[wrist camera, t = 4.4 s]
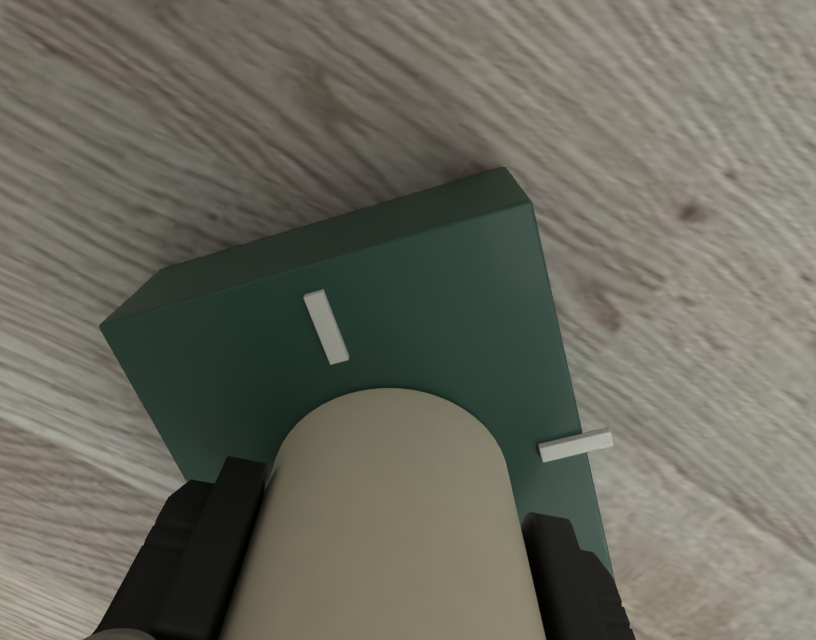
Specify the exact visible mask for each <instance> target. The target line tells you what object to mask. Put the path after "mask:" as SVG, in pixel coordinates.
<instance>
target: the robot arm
mask: <svg viewBox="0 0 816 640" xmlns="http://www.w3.org/2000/svg"><path fill="white" fill-rule="evenodd" d="M267 472H268V463H264V462H259V461H253V460H248V459H242V458H237V457H231V456H228V457H227V458H226V460H225V462H224V464H223V467H222V469H221V471H220V473H219V475H218V478H217V480H216V482H215V483H209V482H203V481H198V480H192V479H191V480H190V481H188V482H187V483H186V484H185V485H183V486H182V487H181V488H180V489H178V490H177V491H176V492H175V493H173V494H172V495H171V496H169V497H168V499H167V501H166V503H165V505H164V506H163V508H162V510H161V512H160V514H159V516H158V517H157V519H156V522H155V525H153V527H152V529H151V530H150V532H149V534H148V536H147V538H146V540H145V543H144V546H143V545H142V547H141V549H140V551H139V553H138V554H137V556H136V558H135V560H134V562H133V564H132V565H131V567H130V569H129V571H128V573H127V575H126V576H125V578H124V580H123V582H122V584H121V586H120V588H119V589H118V591H117V593H116V595H115V597H114V599H113V600H112V602H111V604H110V606H109V608H108V610H107V612H106V613H105V615H104V617H103V619H102V621H101V622H100V624H99V625H98V627H97V629H96V630H95V631H94V632H93V633H92V635H91V636H89V637H87V638H85V639H83V640H217V639H218V636H219V633H220V630H221V627H222V624H223V621H224V617H225V614H226V611H227V608H228V605H229V602H230V599H231V596H232V593H233V590H234V586H235V583H236V580H237V577H238V574H239V571H240V568H241V565H242V562H243V559H244V555H245V552H246V549H247V546H248V543H249V540H250V537H251V534H252V531H253V528H254V524H255V521H256V518H257V515H258V512H259V509H260V506H261V503H262V500H263V496H264V492H265V485H266V479H267ZM521 531H522V536H523V540H524V544H525V549H526V553H527V558H528V562H529V566H530V571H531V575H532V580H533V584H534V588H535V593H536V597H537V602H538V606H539V610H540V615H541V619H542V624H543V628H544V632H545V637H546V640H636V639H635V636H634V633H633V631H632V629H630V628H629V625H630V623H629V620H628V617H627V615H626V612H625V609H624V607H622V606H621V603H622V601H621V598H620V596H619V593H618V590H617V588H616V585H615V582H614V579H613V577H612V575H611V574H610V573H609V571H608V570H607V569H606V567H605V566H604V565H603V564H602V562H601V561H600V560H599V558H598V557H597V556H596V555H595V553H594V552H591V551H585V550H580V547H579V544H578V541H577V538H576V535H575V532H574V529H573V526H572V523H571V522H570V520H569V519H567V518H561V517H556V516H550V515H545V514H539V513H534V512H529V513H527V515H526V516H525V518H524V520H523V522H522V525H521Z"/></svg>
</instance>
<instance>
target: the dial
mask: <svg viewBox="0 0 816 640" xmlns="http://www.w3.org/2000/svg"><path fill="white" fill-rule="evenodd" d="M217 640H546V637H545V632H544V628H543V624H542V619H541V615H540V610H539V606H538V602H537V597H536V593H535V588H534V584H533V580H532V575H531V571H530V566H529V562H528V558H527V553H526V549H525V544H524V540H523V536H522V531H521V527H520V522H519V518H518V514H517V509H516V505H515V500H514V496H513V492H512V487H511V483H510V478H509V474H508V470H507V465H506V461H505V459H504V456H503V453H502V451H501V449H500V447H499V445H498V444H497V442H496V440H495V438H494V437H493V436H492V435H491V433H490V432H489V431H488V430H487V428H486V427H485V426H484V425H483V424H482V423H481V422H479V421H478V420H477V419H476V418H475V417H474V416H473V415H471V414H470V413H468V412H467V411H466V410H464V409H463V408H461V407H459V406H457V405H456V404H454V403H452V402H450V401H448V400H446V399H443V398H440V397H438V396H435V395H432V394H429V393H425V392H421V391H417V390H409V389H402V388H378V389H367V390H362V391H358V392H353V393H349V394H346V395H343V396H340V397H337V398H335V399H333V400H331V401H329V402H327V403H325V404H323V405H321V406H319V407H318V408H316V409H315V410H313V411H312V412H310V413H309V414H308V415H306V416H305V417H304V418H303V419H302V420H301V421H299V422H298V423H297V424H296V426H295V427H294V428H293V429H292V430H291V431H290V432H289V434H288V435H287V437H286V438H285V440H284V442H283V443H282V445H281V447H280V449H279V452H278V454H277V456H276V459H275V462H274V465H273V469H272V472H271V475H270V478H269V481H268V484H267V487H266V490H265V493H264V496H263V500H262V503H261V506H260V509H259V512H258V515H257V518H256V521H255V524H254V528H253V531H252V534H251V537H250V540H249V543H248V546H247V549H246V552H245V555H244V559H243V562H242V565H241V568H240V571H239V574H238V577H237V580H236V583H235V586H234V590H233V593H232V596H231V599H230V602H229V605H228V608H227V611H226V614H225V617H224V621H223V624H222V627H221V630H220V633H219V636H218V639H217Z"/></svg>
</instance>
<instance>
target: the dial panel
mask: <svg viewBox="0 0 816 640" xmlns="http://www.w3.org/2000/svg"><path fill="white" fill-rule="evenodd" d="M99 327H100V330H101V332H102V333H103V335H104V337H105V339H106V340H107V342H108V344H109V346H110V348H111V349H112V351H113V353H114V355H115V356H116V358H117V360H118V362H119V363H120V365H121V367H122V369H123V370H124V372H125V374H126V376H127V377H128V379H129V381H130V383H131V384H132V386H133V388H134V390H135V391H136V393H137V395H138V397H139V398H140V400H141V402H142V404H143V406H144V407H145V409H146V411H147V413H148V414H149V416H150V418H151V420H152V421H153V423H154V425H155V427H156V428H157V430H158V432H159V434H160V435H161V437H162V439H163V441H164V442H165V444H166V446H167V448H168V449H169V451H170V453H171V455H172V457H173V458H174V460H175V462H176V464H177V465H178V467H179V469H180V471H181V472H182V474H183V476H184V478H185V479H186V481H187V482H188V481H190V480H191V479H192V480H198V481H203V482H209V483H215V482H216V480H217V478H218V475H219V473H220V471H221V469H222V467H223V464H224V462H225V460H226V458H227V457H228V456H231V457H237V458H242V459H248V460H253V461H259V462H264V463H268V472H267V479H266V485H265V490H266V487H267V484H268V481H269V478H270V475H271V472H272V469H273V465H274V462H275V459H276V456H277V454H278V452H279V449H280V447H281V445H282V443H283V442H284V440H285V438H286V437H287V435H288V434H289V432H290V431H291V430H292V429H293V428H294V427H295V426H296V424H297V423H298V422H299V421H301V420H302V419H303V418H304V417H305V416H306V415H308V414H309V413H310V412H312V411H313V410H315V409H316V408H318V407H319V406H321V405H323V404H325V403H327V402H329V401H331V400H333V399H335V398H337V397H340V396H343V395H346V394H349V393H353V392H358V391H362V390H367V389H378V388H402V389H409V390H417V391H421V392H425V393H429V394H432V395H435V396H438V397H440V398H443V399H446V400H448V401H450V402H452V403H454V404H456V405H457V406H459V407H461V408H463V409H464V410H466V411H467V412H468V413H470V414H471V415H473V416H474V417H475V418H476V419H477V420H478V421H479V422H481V423H482V424H483V425H484V426H485V427H486V428H487V430H488V431H489V432H490V433H491V435H492V436H493V437H494V438H495V440H496V442H497V444H498V445H499V447H500V449H501V451H502V453H503V456H504V459H505V461H506V465H507V470H508V474H509V478H510V483H511V487H512V492H513V496H514V500H515V505H516V509H517V514H518V518H519V522H520V527H521V525H522V522H523V520H524V518H525V516H526V515H527V513H529V512H534V513H539V514H545V515H550V516H556V517H561V518H567V519H569V520H570V522H571V523H572V526H573V529H574V532H575V535H576V538H577V541H578V544H579V547H580V550H585V551H591V552H594V553H595V555H596V556H597V557H598V558H599V560H600V561H601V562H602V564H603V565H604V566H605V567H606V569H607V570H608V571H609V573H610V574H611V575H612V577H613V579H614V575H613V570H612V565H611V561H610V556H609V552H608V547H607V543H606V538H605V534H604V529H603V524H602V520H601V515H600V511H599V506H598V502H597V497H596V492H595V488H594V483H593V479H592V474H591V470H590V465H589V460H588V456H587V452H590V451H594V450H598V449H603V448H607V447H611V446H613V441H612V436H611V431H610V429H609V428H608V427H607V428H603V429H599V430H595V431H591V432H586V433H582V428H581V424H580V419H579V415H578V410H577V406H576V401H575V397H574V392H573V387H572V383H571V378H570V374H569V369H568V365H567V360H566V355H565V351H564V346H563V342H562V337H561V333H560V328H559V323H558V319H557V314H556V310H555V305H554V301H553V296H552V291H551V287H550V282H549V278H548V273H547V269H546V264H545V259H544V255H543V250H542V246H541V241H540V237H539V232H538V228H537V223H536V218H535V214H534V209H533V205H532V202H531V200H530V199H529V198H528V196H527V195H526V194H525V192H524V191H523V190H522V188H521V187H520V186H519V184H518V183H517V182H516V180H515V179H514V178H513V176H512V175H511V174H510V173H509V171H508V170H507V169H506V167H501V168H497V169H494V170H491V171H487V172H484V173H481V174H477V175H474V176H471V177H467V178H464V179H460V180H457V181H454V182H450V183H447V184H444V185H440V186H437V187H434V188H430V189H427V190H424V191H420V192H417V193H414V194H410V195H407V196H404V197H400V198H397V199H394V200H390V201H387V202H384V203H380V204H377V205H374V206H370V207H367V208H364V209H360V210H357V211H354V212H350V213H347V214H344V215H340V216H337V217H334V218H330V219H327V220H324V221H320V222H317V223H314V224H310V225H307V226H304V227H300V228H297V229H294V230H290V231H287V232H284V233H280V234H277V235H274V236H270V237H267V238H264V239H260V240H257V241H254V242H250V243H247V244H243V245H240V246H237V247H233V248H230V249H227V250H223V251H220V252H217V253H213V254H210V255H207V256H203V257H200V258H197V259H193V260H190V261H187V262H183V263H180V264H177V265H173V266H170V267H167V268H163V269H160V270H159V271H158V272H157V273H156V274H155V275H154V276H153V277H152V278H150V279H149V280H148V281H147V282H146V283H145V284H144V285H143V286H142V287H141V288H140V289H138V290H137V291H136V292H135V293H134V294H133V295H132V296H131V297H130V298H129V299H127V300H126V301H125V302H124V303H123V304H122V305H121V306H120V307H119V308H118V309H117V310H115V311H114V312H113V313H112V314H111V315H110V316H109V317H108V318H107V319H106V320H104V321H103V322H102V323H101V324H100V326H99ZM264 493H265V492H264ZM614 582H615V579H614ZM615 585H616V584H615Z"/></svg>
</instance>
